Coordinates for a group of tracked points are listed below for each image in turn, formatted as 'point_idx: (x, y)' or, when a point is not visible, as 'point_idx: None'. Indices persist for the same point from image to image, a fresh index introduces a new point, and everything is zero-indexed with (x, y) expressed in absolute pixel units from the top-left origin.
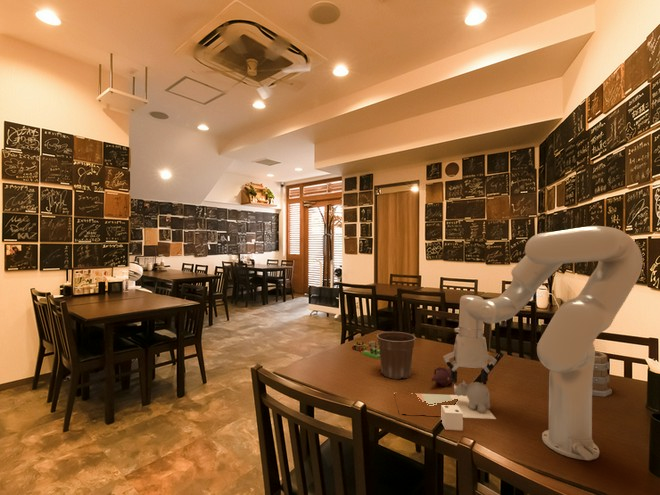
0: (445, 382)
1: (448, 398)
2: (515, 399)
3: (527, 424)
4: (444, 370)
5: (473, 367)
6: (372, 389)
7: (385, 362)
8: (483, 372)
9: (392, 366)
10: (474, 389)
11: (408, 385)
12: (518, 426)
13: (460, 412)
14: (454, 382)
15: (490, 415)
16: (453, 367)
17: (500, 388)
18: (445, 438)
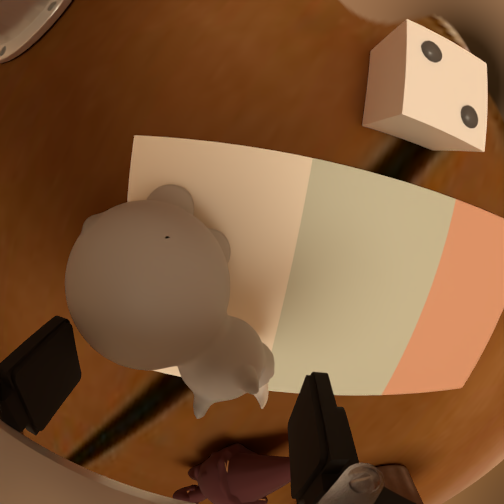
0: (239, 454)
1: (285, 360)
2: (14, 310)
3: (41, 104)
4: (235, 498)
5: (81, 471)
6: (488, 396)
7: (421, 500)
8: (21, 393)
9: (409, 493)
10: (176, 263)
11: (378, 441)
12: (79, 80)
13: (416, 30)
14: (325, 375)
15: (145, 168)
16: (372, 498)
17: None
18: (450, 33)
